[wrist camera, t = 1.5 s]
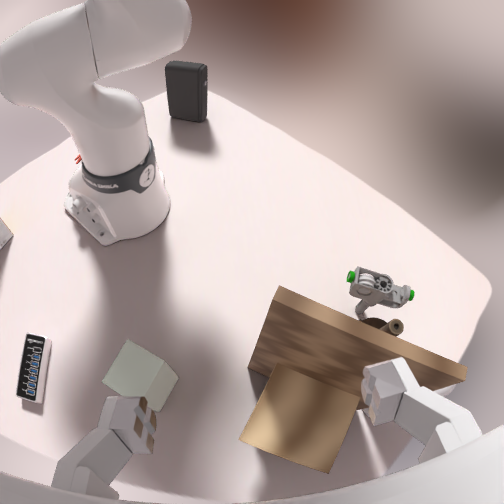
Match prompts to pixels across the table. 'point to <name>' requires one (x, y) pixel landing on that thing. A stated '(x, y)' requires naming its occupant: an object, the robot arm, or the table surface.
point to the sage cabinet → (141, 375)
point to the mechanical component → (376, 290)
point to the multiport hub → (33, 368)
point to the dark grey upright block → (187, 90)
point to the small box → (4, 234)
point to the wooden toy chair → (323, 377)
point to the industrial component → (386, 325)
